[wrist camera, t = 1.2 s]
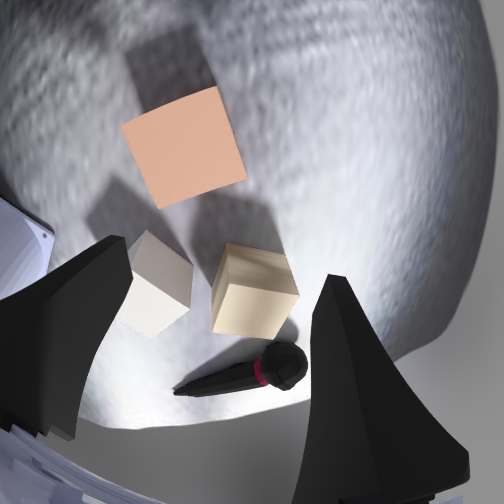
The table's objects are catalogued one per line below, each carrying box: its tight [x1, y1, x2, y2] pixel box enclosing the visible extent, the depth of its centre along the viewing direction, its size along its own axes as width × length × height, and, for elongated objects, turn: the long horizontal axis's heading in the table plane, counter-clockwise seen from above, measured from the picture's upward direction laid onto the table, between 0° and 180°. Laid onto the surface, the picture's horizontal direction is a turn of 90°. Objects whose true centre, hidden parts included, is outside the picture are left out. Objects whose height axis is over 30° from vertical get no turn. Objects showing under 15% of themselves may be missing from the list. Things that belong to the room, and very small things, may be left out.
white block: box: [115, 230, 194, 339], centre depth 20 cm, size 5×5×5 cm
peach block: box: [121, 86, 247, 209], centre depth 14 cm, size 5×5×5 cm
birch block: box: [212, 242, 300, 340], centre depth 21 cm, size 5×5×5 cm
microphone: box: [173, 342, 308, 397], centre depth 31 cm, size 6×6×20 cm
